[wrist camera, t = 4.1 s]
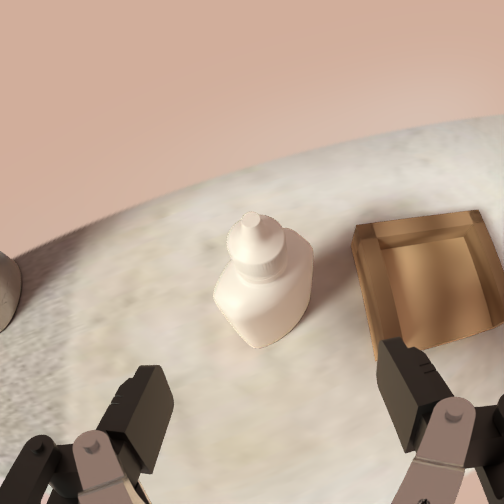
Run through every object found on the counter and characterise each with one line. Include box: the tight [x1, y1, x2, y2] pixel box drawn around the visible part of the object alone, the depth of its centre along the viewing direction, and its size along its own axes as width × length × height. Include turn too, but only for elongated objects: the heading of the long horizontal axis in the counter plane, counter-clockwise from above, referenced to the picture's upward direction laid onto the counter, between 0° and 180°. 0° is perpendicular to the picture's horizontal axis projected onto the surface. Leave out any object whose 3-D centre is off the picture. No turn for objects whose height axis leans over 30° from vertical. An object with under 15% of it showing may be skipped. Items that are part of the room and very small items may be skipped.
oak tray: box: [351, 210, 504, 361], centre depth 20 cm, size 11×9×3 cm
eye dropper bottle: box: [213, 212, 314, 349], centre depth 17 cm, size 4×6×12 cm
